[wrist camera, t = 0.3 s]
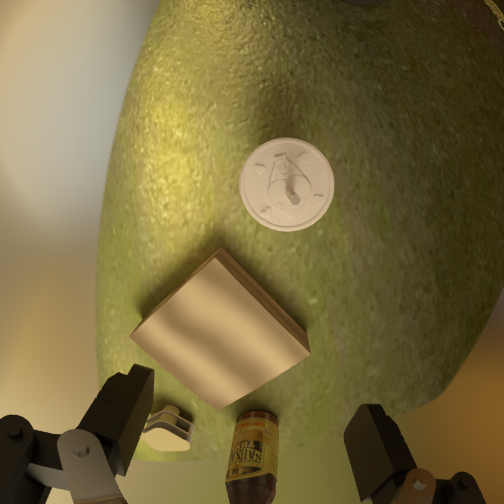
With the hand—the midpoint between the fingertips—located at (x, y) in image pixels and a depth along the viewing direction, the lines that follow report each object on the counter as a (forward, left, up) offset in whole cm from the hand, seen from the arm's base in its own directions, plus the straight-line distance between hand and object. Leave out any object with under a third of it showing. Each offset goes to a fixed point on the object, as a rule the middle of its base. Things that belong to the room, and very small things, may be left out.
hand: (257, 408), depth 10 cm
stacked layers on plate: (+28, +11, -22) cm, 37 cm away
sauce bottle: (+18, +19, -21) cm, 34 cm away
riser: (+10, +4, -21) cm, 24 cm away
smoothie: (-6, -4, -21) cm, 23 cm away
